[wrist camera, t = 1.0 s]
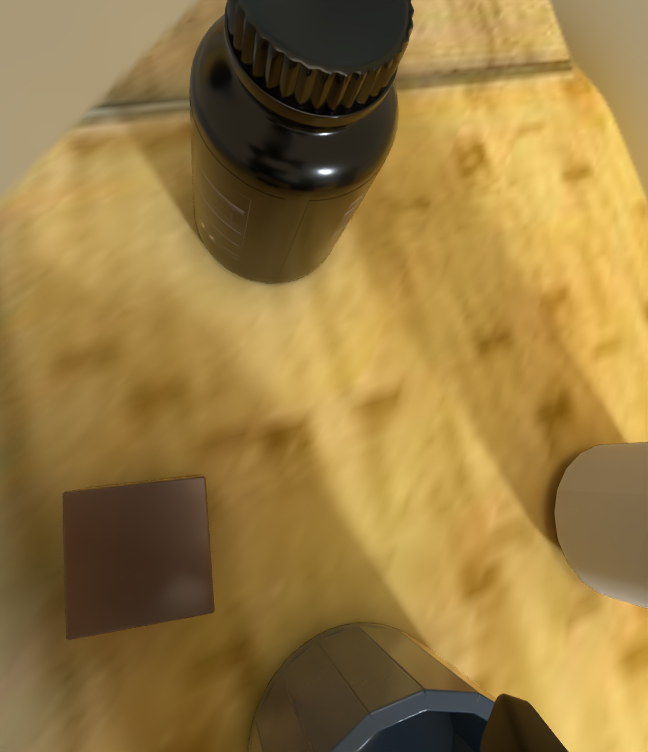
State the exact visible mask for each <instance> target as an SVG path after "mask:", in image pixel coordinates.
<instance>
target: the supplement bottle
mask: <svg viewBox="0 0 648 752" xmlns="http://www.w3.org/2000/svg"><path fill="white" fill-rule="evenodd" d="M413 13H414V9H413V7H412V4H411V0H227V4H226V8H225V14H224V15H223V16H221V17H220V18H219V19H218V20H217V21H216V22H215V23H214V24H213V25H212V26H211V28H210V29H209V30H208V31H207V33H206V34H205V36H204V37H203V39H202V41H201V42H200V44H199V46H198V48H197V51H196V54H195V57H194V60H193V64H192V68H191V76H190V120H191V149H192V178H193V204H194V215H195V221H196V225H197V229H198V232H199V235H200V237H201V239H202V241H203V243H204V244H205V246H206V248H207V249H208V250H209V252H210V253H211V254H212V255H213V257H214V258H215V259H216V260H217V261H218V262H219V263H220V264H222V265H223V266H224V267H225V268H227V269H228V270H230V271H231V272H233V273H235V274H237V275H238V276H241V277H243V278H245V279H248V280H252V281H255V282H260V283H270V284H276V283H285V282H290V281H294V280H297V279H299V278H302V277H304V276H306V275H308V274H309V273H311V272H313V271H314V270H315V269H316V268H318V267H319V266H320V265H321V264H322V263H323V262H324V260H325V259H326V258H327V257H328V255H329V254H330V252H331V251H332V249H333V248H334V246H335V245H336V243H337V241H338V240H339V238H340V236H341V235H342V233H343V231H344V230H345V228H346V226H347V225H348V223H349V221H350V219H351V218H352V216H353V214H354V213H355V211H356V209H357V208H358V206H359V204H360V203H361V201H362V199H363V198H364V196H365V194H366V192H367V191H368V189H369V187H370V186H371V184H372V182H373V181H374V179H375V177H376V176H377V174H378V172H379V171H380V169H381V167H382V165H383V164H384V162H385V160H386V158H387V156H388V154H389V152H390V150H391V147H392V145H393V142H394V139H395V135H396V131H397V125H398V99H397V92H396V87H395V83H394V79H395V76H396V72H397V68H398V65H399V63H400V60H401V58H402V56H403V54H404V52H405V50H406V48H407V46H408V42H409V37H410V34H411V32H412V29H413V21H412V17H413Z"/></svg>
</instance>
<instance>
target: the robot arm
mask: <svg viewBox="0 0 648 752" xmlns="http://www.w3.org/2000/svg"><path fill="white" fill-rule="evenodd" d="M480 752H568V751H567V749H566V748H565V747H564V746H563V744H562V743H561V742H560V741H559V739H558V738H557V737H556V736H555V734H554V733H553V732H552V730H551V729H550V728H549V727H548V725H547V724H546V723H545V722H544V720H543V719H542V718H541V717H540V715H539V714H538V713H537V712H536V710H535V709H534V708H533V707H532V705H531V704H530V703H528V702H527V701H525V700H522V699H519V698H516V697H513V696H510V695H507V694H501V695H499V696H498V697H497V699H496V700H495V703H494V705H493V708H492V711H491V714H490V716H489V719H488V722H487V725H486V727H485V730H484V733H483V736H482V739H481V745H480Z"/></svg>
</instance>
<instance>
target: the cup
mask: <svg viewBox="0 0 648 752" xmlns="http://www.w3.org/2000/svg"><path fill="white" fill-rule="evenodd" d="M495 700H496V698H495V697H494V696H492V695H491V694H490V693H488V692H487V691H486V690H484V689H483V688H482V687H480V686H479V685H478V684H476V683H475V682H474V681H472V680H471V679H470V678H468V677H467V676H466V675H464V674H463V673H462V672H460V671H459V670H458V669H456V668H455V667H454V666H453V665H451V664H450V663H449V662H447V661H446V660H445V659H443V658H442V657H441V656H439V655H438V654H437V653H435V652H434V651H433V650H431V649H430V648H428V647H427V646H425V645H423V644H422V643H420V642H418V641H417V640H415V639H414V638H413V637H411V636H410V635H408V634H406V633H404V632H402V631H400V630H398V629H396V628H393V627H390V626H386V625H382V624H376V623H354V624H347V625H343V626H339V627H336V628H333V629H330V630H328V631H326V632H323V633H321V634H319V635H317V636H316V637H314V638H313V639H311V640H309V641H308V642H306V643H305V644H304V645H303V646H301V647H300V648H299V649H297V650H296V651H295V652H294V653H293V654H292V655H291V656H290V657H289V658H288V659H287V660H286V661H285V662H284V663H283V665H282V666H281V667H280V669H279V670H278V671H277V672H276V674H275V675H274V677H273V678H272V680H271V682H270V683H269V685H268V686H267V688H266V690H265V692H264V694H263V696H262V698H261V701H260V703H259V705H258V708H257V711H256V714H255V717H254V720H253V723H252V728H251V733H250V737H249V746H248V752H480V745H481V739H482V736H483V733H484V730H485V727H486V725H487V722H488V719H489V716H490V714H491V711H492V708H493V705H494V703H495Z"/></svg>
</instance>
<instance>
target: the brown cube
mask: <svg viewBox="0 0 648 752" xmlns="http://www.w3.org/2000/svg"><path fill="white" fill-rule="evenodd" d="M63 532H64V573H65V614H66V639H67V640H72V639H77V638H82V637H88V636H93V635H99V634H104V633H109V632H115V631H120V630H125V629H131V628H136V627H141V626H147V625H152V624H157V623H163V622H168V621H173V620H179V619H184V618H190V617H195V616H200V615H206V614H211V613H213V612H214V610H215V609H214V594H213V580H212V565H211V551H210V536H209V522H208V507H207V493H206V478H205V477H204V476H203V475H195V476H186V477H177V478H168V479H160V480H151V481H142V482H133V483H124V484H115V485H106V486H97V487H90V488H84V489H79V490H73V491H68V492H64V493H63Z"/></svg>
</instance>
